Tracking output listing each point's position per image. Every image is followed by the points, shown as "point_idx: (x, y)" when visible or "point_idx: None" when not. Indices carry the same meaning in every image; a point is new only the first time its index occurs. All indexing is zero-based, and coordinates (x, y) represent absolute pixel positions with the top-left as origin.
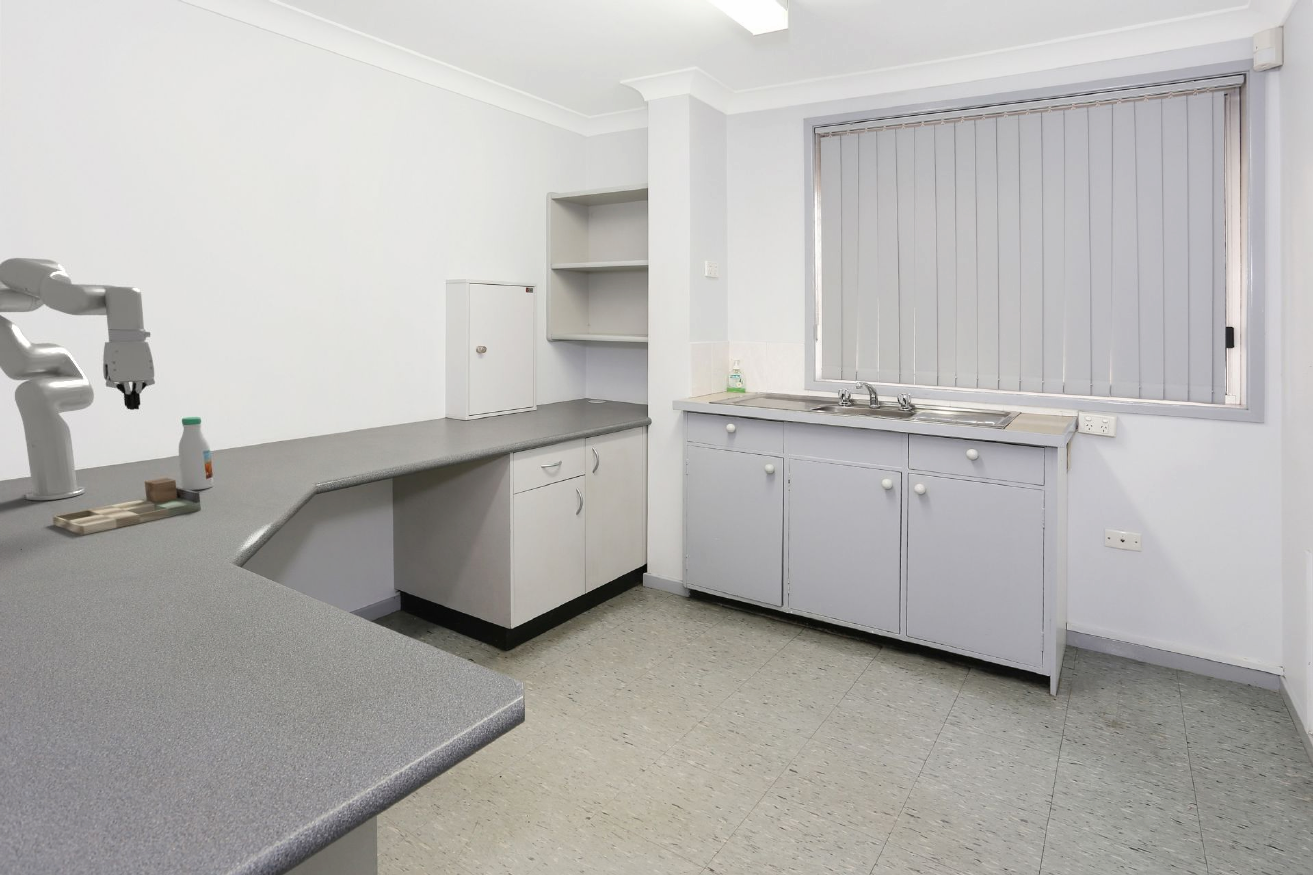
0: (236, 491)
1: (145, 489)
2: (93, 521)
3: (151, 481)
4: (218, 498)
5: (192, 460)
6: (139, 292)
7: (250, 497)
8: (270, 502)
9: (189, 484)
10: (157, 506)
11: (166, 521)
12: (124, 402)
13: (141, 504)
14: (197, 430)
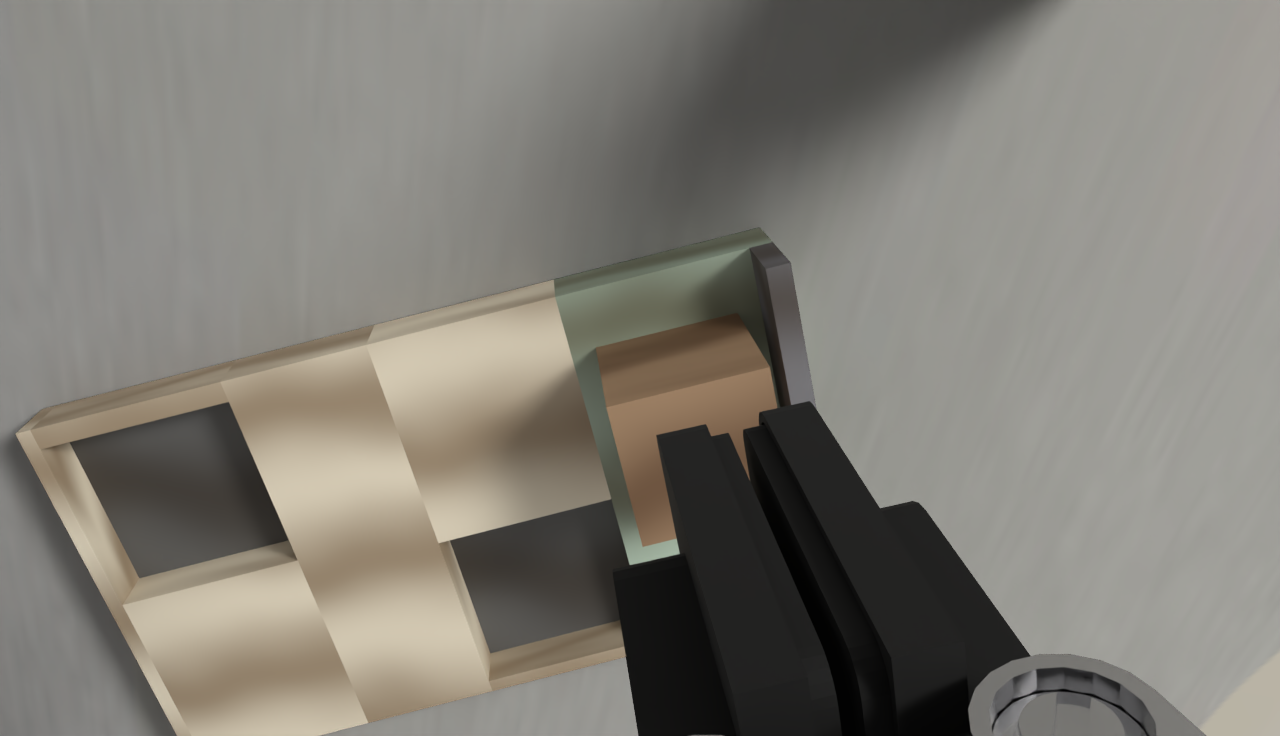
0: (1187, 205)
1: (601, 378)
2: (256, 702)
3: (646, 450)
4: (1012, 343)
5: None
6: None
7: (1153, 443)
8: (1158, 627)
9: None
10: (620, 527)
11: (611, 704)
12: (618, 603)
13: (545, 449)
14: None
